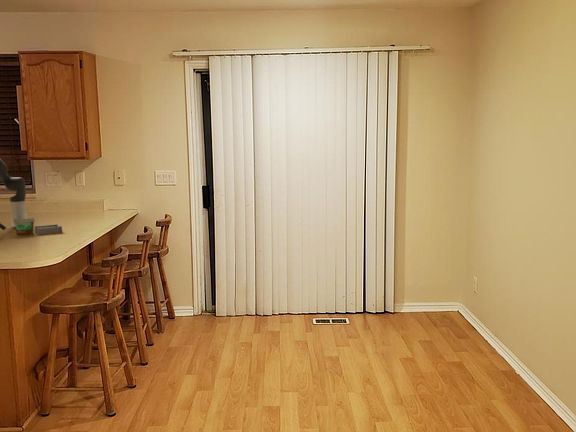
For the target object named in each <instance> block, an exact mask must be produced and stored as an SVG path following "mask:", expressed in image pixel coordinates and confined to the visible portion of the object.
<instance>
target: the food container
mask: <svg viewBox="0 0 576 432" xmlns="http://www.w3.org/2000/svg"><path fill="white" fill-rule="evenodd" d="M35 221H36V220H35V218H34V217H32V218H26V219H15V218H14V222H15V226H16V227H15V231H16V235H17V236H28V235H33V234H34V227H35V225H34V222H35Z"/></svg>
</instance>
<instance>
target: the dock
mask: <svg viewBox="0 0 576 432" xmlns="http://www.w3.org/2000/svg"><path fill="white" fill-rule="evenodd" d="M35 232H37V233H36V235H37V236H42V235H41V234H43V235H52V234H53V233H55V234H62V233H63V227H62V225H61V224H58V223H57V224H56V223H55V224H46V225H45V224H44V225H34V233H35Z"/></svg>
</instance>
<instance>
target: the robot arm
mask: <svg viewBox="0 0 576 432" xmlns="http://www.w3.org/2000/svg"><path fill="white" fill-rule="evenodd" d="M8 169H9V168H8V165H7V163H5V162H4V161H3V160H2V159H1V158H0V181H1V183H2V184H3V185H4V187H5V188H6V189H7V190H8V191H10V192H16V193H15V195H12V196H10V198H9V202H10V204H9V205H10V216H11V217H10V219H11V228H16V226H15V222H14V218H15V219H27V210H26V209H27V208H26V207H27V206H26V182H25V179H24V178H23V177H20V176H19V177H18V176H17V177H15V176H14V177H13V176H10V175H9V174H8V172H9V171H8ZM0 229H1V230H2V231H5V230H6V229H7V227H6V226H5V225H4V224H2V222H0Z"/></svg>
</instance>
